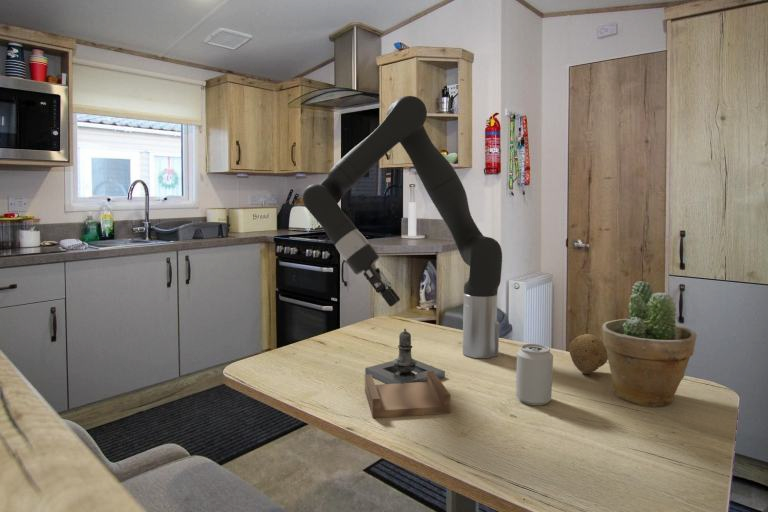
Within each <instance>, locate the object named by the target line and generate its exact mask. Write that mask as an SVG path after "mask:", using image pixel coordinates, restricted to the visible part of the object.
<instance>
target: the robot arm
mask: <svg viewBox="0 0 768 512" xmlns="http://www.w3.org/2000/svg"><path fill="white" fill-rule="evenodd" d="M427 117H428V111H427V107H426V104H425V102H424V101H423V100H422V99H420V98H419V97H417V96H414V95H406V96H405V95H404V96H402V97H400V98H398V99H396V100H395V101H394V102H392V103H391V105H389V107H388V108H387V111H386V117H385V118H384V119H383V121H382V122H381V123H380V124H379V125H378V126H377V128H375V129H374V130H373V131H372V132H371V133H370V134H369V135H368V136H367V137H365V138H364V139H363V140H362V141H360V142H359V143H358V144H356V145H354V147H353V148H352V149H351V150H349V151H348V152H347V153H346V154H345V155H344V156H343V157H342V158H340V159H339V160H338V161H337V162H336V163H335V164H334V165H333V167H331V168H330V170H329V172H328V174H327V177H326V178H325V179H324V180H323V181H322V182H321V183H314V184H313V183H312V184H311V185H308V186H307V187H305V189H304V191H303V193H302V202H303V205H304V207H305V208H306V209H307V210H308V212H309V213H310V214H311V216H313V218H314V219H315V221H317V223H319V224H320V226H321V227H322V229H323V230H324V232H325V233H326V235H327V237H328V238H329V240H330V241H331V242H332V243H333V245H334V246H335V249H336V250H337V251H338V253H339V254H340V256H341V257H342V258H343V260H344V261H345V263H346V264H347V265H348V266H349V268H350V269H351V270H352V272H353V273H354V275H359V274H362V273H363V276H364V277H365V278H366V280H367V281H368V283H370V285H371V286H372V288H373V289H374V290H375V293H377V294H378V295H381V297H382V298H383V299H384V301H385V302H386V304H388V306H389V307H393V306H394V305H396V304H397V303H398V302H400V300H401V298H400V296H399V295H398V293H396V292H395V290H394V289H393V287H392V286H393V285H392V283H391V282H390V281H389V278H388V277H387V276H386V275H385V273H384V272H383V270H382V269H381V268H380V267H378V266H377V267H376V266H375V263H376V262H377V261H378V260H379V259H380V255H379V254H378V253H377V251H376V250H375V248H373V246H372V245H371V243H370V242H369V240H368V239H367V238H366V237H365V236H364V235H363V234H362V232H361V231H359V229H358V228H357V227H356V225H355V224H354V223H353V221H352V220H351V219H350V218H349V216H348V215H347V214H346V213H345V212H344V211H343V209H342V208H341V206H340V205H339V202H340V201H341V200H342V199H343V197H344V196H345V195H346V193H348V191H350V189H351V188H353V187H354V186H355V185H356V184H357V183H358V182H359V181H360V180H361V179H363V178H364V177H365V176H366V174H367V173H369V171H370V170H371V169H372V168H373V167H375V165H376V164H377V163H378V162H379V161H380V160H381V159H382V158H383V157H385V155H386V154H388V152H390V151H391V150H392V149H393V148H394V147H395V146H396V145H398V144H401V146H402V147H403V150H405V153H406V154H407V155H408V157H409V159H410V161H411V163H412V165H413V167H414V169H415V171H416V173H417V175H418V177H419V180H420V181H421V183H422V185H423V187H424V189H425V191H426V193H427V195H428V196H429V198H430V200H431V202H432V203H433V204H434V206H435V209H436V211H438V214H439V215H440V217H441V218H442V220H443V222H444V223H445V225H446V226H447V228H448V229H449V232H450V234H451V235H452V237H453V238H452V239H453V240H454V242H455V245H456V247H457V250H458V252H459V255H460V256H461V257H460V258H461V259H462V261H463V262H464V263H465V264H466V265H467V266H469V274H468V276H469V277H468V279H467V281H466V282H465V283H464V285H463V309H462V310H463V312H462V313H463V315H462V317H463V318H462V319H463V320H462V355H464V356H466V357H469V358H475V359H490V358H493V357H498V356H499V347H500V346H499V343H500V341H499V339H500V321H498V320H497V319H498V290H499V287H500V284H501V281H502V269H503V268H502V267H503V266H502V265H503V251H502V247H501V245H500V243H499V242H498V241H497V240H496V239H494V238H492V237H489V236H484V235H483V233H482V231H481V230H480V229H479V227H478V225H477V224H476V223H475V220H474V218H473V217H472V213H471V211H470V206H469V201H468V197H467V192H466V190H465V187H464V185H463V183H462V181H461V179H460V177H459V175H458V173H457V172H456V170H455V168H454V167H453V165H452V164H451V163H450V162H449V160H447V158H446V157H445V156H444V155H443V154H442V152H441V151H440V150H439V149H437V147H436V146H435V144H434V143H433V142H432V140H431V139H430V137H429V134H428V132H427V131H426V128H425V126H424V125H425V123H426V120H427Z"/></svg>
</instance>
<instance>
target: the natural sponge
mask: <svg viewBox="0 0 768 512" xmlns="http://www.w3.org/2000/svg"><path fill="white" fill-rule="evenodd" d="M568 351H569V354H570V358H571V361H572V362H573V365H574V366H575V367H576V368H577V370H579V372H581V373H583V374H584V375H589V374H592V373H594V372H595V371H597V370H598V369H599V368H601V367H603V366H604V365H605V364H607V362H608V356H607V350H606V347H605V346H604V345H603V340H602V339H600V338H599V337H597V336H596V335H593V334H591V333H585V334H580V335H578V336H576V337H575V338H573V340H572V341H571V342H570V343H569V350H568Z"/></svg>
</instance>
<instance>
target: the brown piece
mask: <svg viewBox="0 0 768 512" xmlns="http://www.w3.org/2000/svg"><path fill="white" fill-rule="evenodd" d="M364 394H365V396H366V400H367V403H368V407H369V411H370V413H371V417H372V419H377V418H378V419H379V418H392V417H393V418H394V417H395V418H396V417H408V416H409V417H410V416H411V417H413V416H423V415H424V416H425V415H441V414H450V413H451V393H450V391H448V390H447V388H446V387H445V385H444V384H443V382H442V381H441V379H439V378H438V377H437V375H436V374H435V373H434V371H427V382H416V383H404V384H400V383H398V384H387V383H383V384H376V383H375V379H374V377H372V375H371V374H368V375H367V374H364Z"/></svg>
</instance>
